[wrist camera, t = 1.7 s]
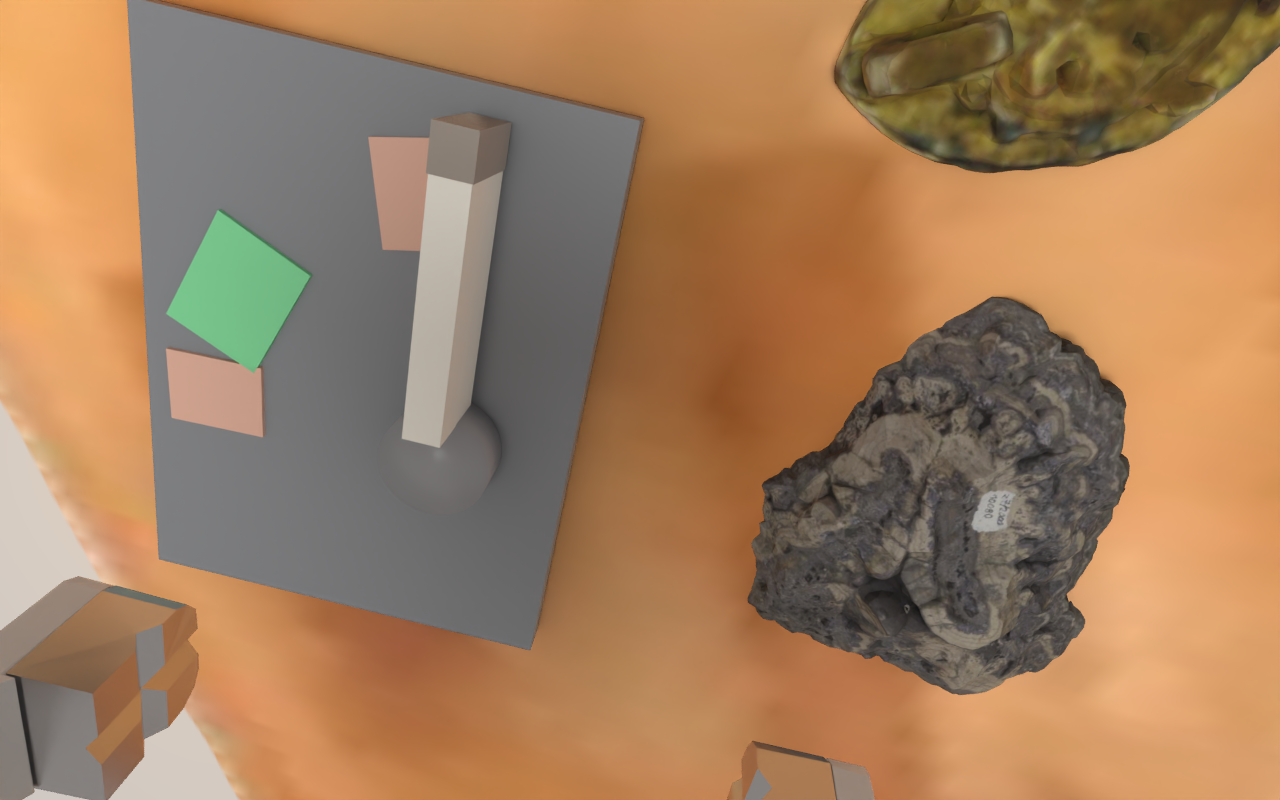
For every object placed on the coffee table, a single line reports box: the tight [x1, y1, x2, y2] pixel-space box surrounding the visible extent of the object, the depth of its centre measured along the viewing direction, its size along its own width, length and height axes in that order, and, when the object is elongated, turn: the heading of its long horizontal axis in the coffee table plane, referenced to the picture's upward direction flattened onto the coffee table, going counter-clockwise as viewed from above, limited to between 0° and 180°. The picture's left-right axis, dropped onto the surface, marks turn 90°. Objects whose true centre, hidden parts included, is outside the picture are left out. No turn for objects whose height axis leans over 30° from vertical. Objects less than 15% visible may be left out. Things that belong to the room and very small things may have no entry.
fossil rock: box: [748, 297, 1130, 695], centre depth 31 cm, size 19×4×15 cm
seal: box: [835, 0, 1280, 173], centre depth 23 cm, size 9×5×15 cm
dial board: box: [127, 0, 644, 650], centre depth 31 cm, size 24×18×2 cm
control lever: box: [378, 112, 512, 515], centre depth 28 cm, size 15×4×4 cm, turn 168°
